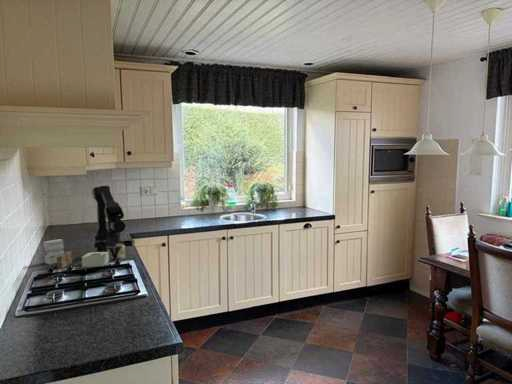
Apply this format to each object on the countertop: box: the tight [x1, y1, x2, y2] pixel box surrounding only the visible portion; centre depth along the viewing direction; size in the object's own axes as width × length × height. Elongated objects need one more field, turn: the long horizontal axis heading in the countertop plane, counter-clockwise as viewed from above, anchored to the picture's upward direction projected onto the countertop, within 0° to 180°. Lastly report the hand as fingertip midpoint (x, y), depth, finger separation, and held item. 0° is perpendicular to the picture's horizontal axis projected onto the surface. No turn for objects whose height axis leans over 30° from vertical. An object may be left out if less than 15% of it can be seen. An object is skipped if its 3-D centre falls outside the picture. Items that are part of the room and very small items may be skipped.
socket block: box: [81, 251, 110, 268], centre depth 196 cm, size 10×10×5 cm
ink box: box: [43, 238, 65, 265], centre depth 207 cm, size 9×5×12 cm, turn 141°
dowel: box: [117, 245, 126, 260], centre depth 208 cm, size 4×4×8 cm
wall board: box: [56, 250, 73, 270], centre depth 196 cm, size 13×32×7 cm, turn 94°
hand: (115, 259), depth 196 cm, fingers closed
